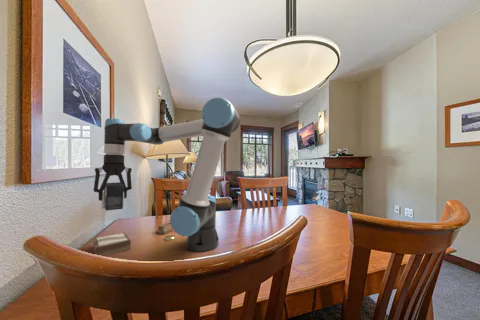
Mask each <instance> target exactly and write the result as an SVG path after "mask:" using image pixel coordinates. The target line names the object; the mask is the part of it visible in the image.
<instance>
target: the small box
mask: <svg viewBox="0 0 480 320" xmlns="http://www.w3.org/2000/svg"><path fill="white" fill-rule="evenodd" d="M123 188H124V185H123V184H121V183H120V181H119V182H107V183H106V186H105V188H104V190H103V192H104V193H105V200H104V210H105V211H116V210H123V209H124V206H123Z"/></svg>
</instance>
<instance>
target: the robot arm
mask: <svg viewBox="0 0 480 320" xmlns="http://www.w3.org/2000/svg"><path fill="white" fill-rule="evenodd" d="M201 118H202V119H195V120H191V121H187V122H181V123H175V124H169V125H165V126H160V127H154V128H152V127H150V126H149V125H148V124H146V123H140V122H137V123H126V121H125V120H124V119H120V118H113V117H110V118H106V120H105V121H104V137H103V139H104V140H103V141H104V144H103V145H104V147H103V153H104V155H103V165H102V167H101V166H100V167H95V168H94V172H95V174H94V175H95V176H94V184H93V189H92V190H93V192H94V193H97V194H98V201H101V205H100V207H101V209H104V210H105V207H104V200H105V193H104V188H105V186H106V183H108V181H109V178H110V177H112V176H117V177H118V180H119V182H120V183H121V184H123V185H124V188H123V207H124V206H125V199H127V198H128V195H127V193H128V191H129V190H132V189H133V187H132V176H131V173H132V170H133V169H132V168H131V167H127V166H125V155H124V154H125V150H126V149H125V145H126V142H138V143H145V144H150V145H151V144H152V145H156V146H158V145H162V144H164V143H167V142H172V141H179V140H184V139H190V138H196V137H201V136H203V137H202V140H201V143H200V146H199V150H198V153H197V157H196V160H195V164H194V166H193V170H192V172H191V173H192V174H191V177H190V179H189V180H190V181H189V182H188V187H187V190H186V193H184V194H182V195H181V196H180V199H179V201H178V206H177V207H175V208H174V209H173V211H171V214H170V217H169V222H170V223H169V224H171V226H172V231H174V232H175V233H176V234H178V235H179V236H181V237H186V240H185V247H186V249H188V250H189V251H193V252H197V253H198V252H200V253H201V252H209V251H211V250H214V249H216V248H217V247H218V246H219V244H220V243H219V240H220V239H219V236H218V232H217V229H216V212H217V209H216V207H217V200H216V199H217V198H216V196H214V195H209V194H210V192H211V187H212V185H213V182H214V179H215V175H216V172H217V168H218V165H219V162H220V159H221V155H222V153H223V149H224V145H225V142H226V141H228V140H230V139H231V137H232V134H233V133H235V132H236V131H237V130H238V129H239V127H240V125H241V116H240V114H239V112H238V110H236V109H235V107H234V105H233V104H232V102H230V101H229V100H228V99H226V98H224V97H213V98H211V99H209V100H207V101H206V102H205V104H204V105H203V107H202V109H201ZM124 171H125V172H126V182H125V180H124V177H123V174H122V173H123V172H124ZM102 172H104V173H105V175H104V179H103V180H102V182H101V185H100V187H99V184H100V183H99V182H100V176H101V175H100V174H101V173H102ZM126 183H127V185H126Z"/></svg>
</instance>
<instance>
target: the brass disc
mask: <svg viewBox="0 0 480 320" xmlns="http://www.w3.org/2000/svg"><path fill="white" fill-rule="evenodd" d="M176 239H177V238H176V234H175V235H174V234H172V235H171V234H170V235H167V236H166V235H165V237H164V240H165V241H168V242H169V241H174V240H176Z"/></svg>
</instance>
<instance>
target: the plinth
mask: <svg viewBox="0 0 480 320" xmlns="http://www.w3.org/2000/svg"><path fill="white" fill-rule="evenodd" d="M131 241H132V240H131V239H130V237H129V236H128V235H127V233H126V232H120V233H115V234H110V235H105V236H100V237H95V238H93V241H92V242H93V244H92V245H93V246H92V248H93V253H94V255H95V254H97V255H102V256H104V257H107V256H110V255H115V254H118V253H122V252H126V251H130V250H131Z"/></svg>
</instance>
